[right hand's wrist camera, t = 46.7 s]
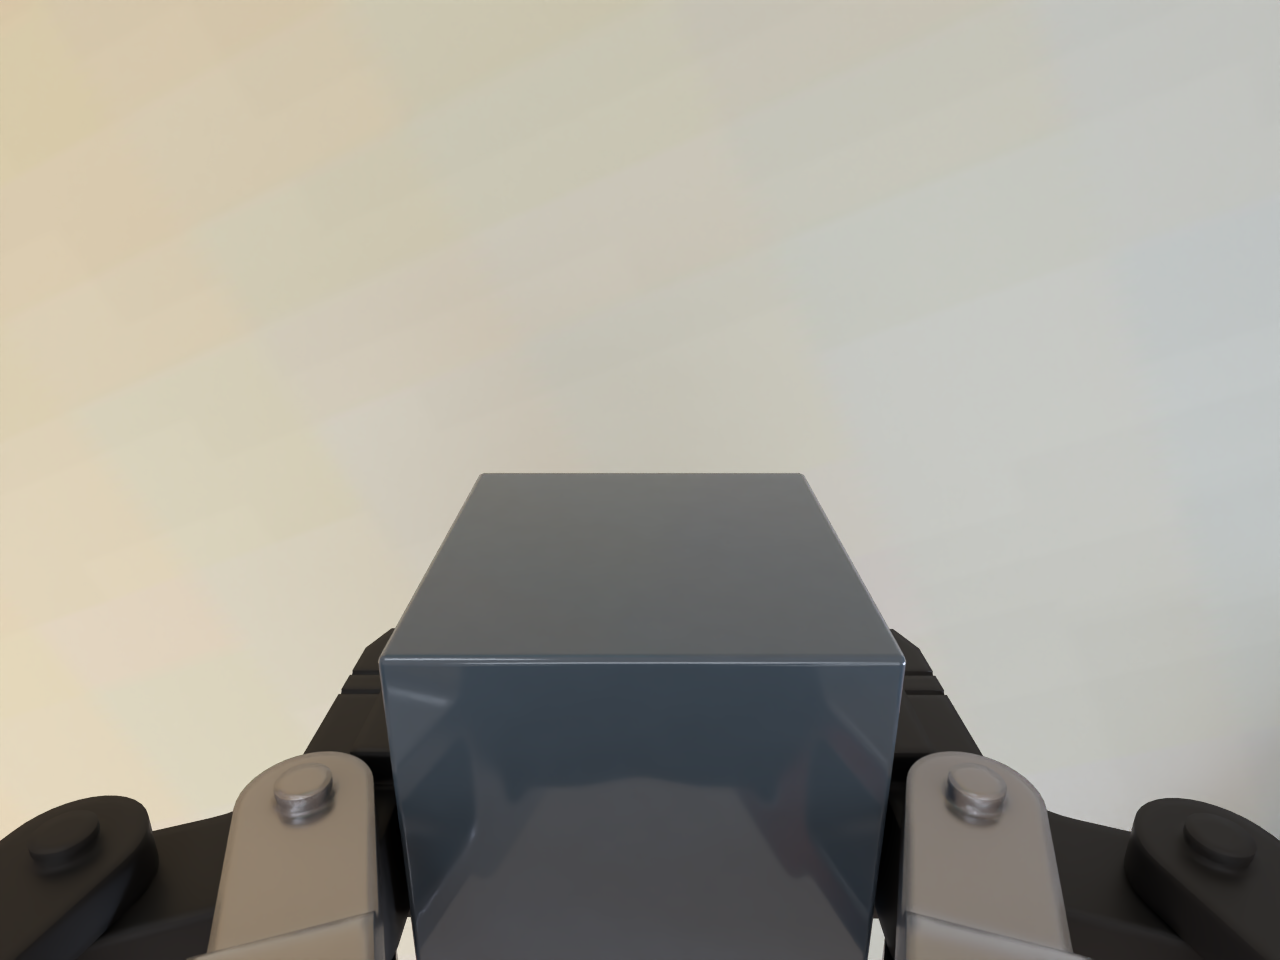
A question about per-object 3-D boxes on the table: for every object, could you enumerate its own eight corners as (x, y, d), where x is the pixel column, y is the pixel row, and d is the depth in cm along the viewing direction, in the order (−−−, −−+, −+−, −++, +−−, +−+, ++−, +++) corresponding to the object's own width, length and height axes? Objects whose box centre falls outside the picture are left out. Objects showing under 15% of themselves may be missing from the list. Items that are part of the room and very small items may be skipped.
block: (804, 471, 12) (909, 657, 7) (782, 767, 13) (856, 1069, 9) (478, 471, 12) (374, 659, 7) (499, 766, 13) (427, 1069, 9)
